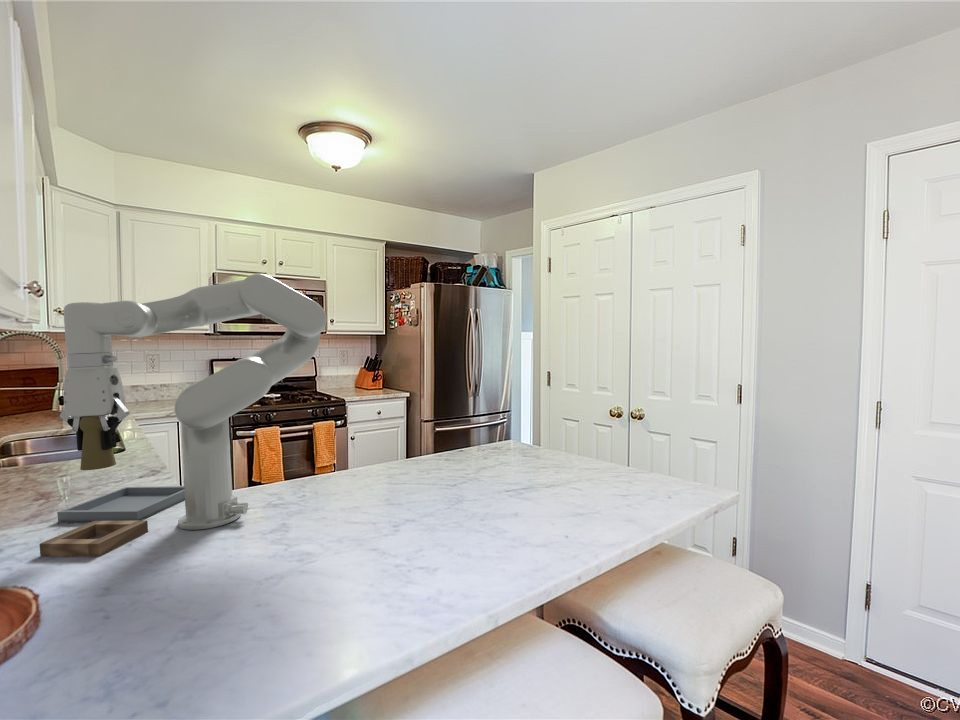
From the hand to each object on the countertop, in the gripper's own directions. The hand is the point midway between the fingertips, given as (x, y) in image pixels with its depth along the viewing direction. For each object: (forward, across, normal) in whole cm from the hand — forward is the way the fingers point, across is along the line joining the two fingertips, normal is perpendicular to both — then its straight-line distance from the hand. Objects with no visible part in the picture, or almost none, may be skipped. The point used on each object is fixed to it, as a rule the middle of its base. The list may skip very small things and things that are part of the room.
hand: (97, 448), depth 105 cm
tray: (+19, +9, -20) cm, 29 cm away
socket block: (+19, -1, +3) cm, 19 cm away
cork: (+4, 0, 0) cm, 4 cm away
